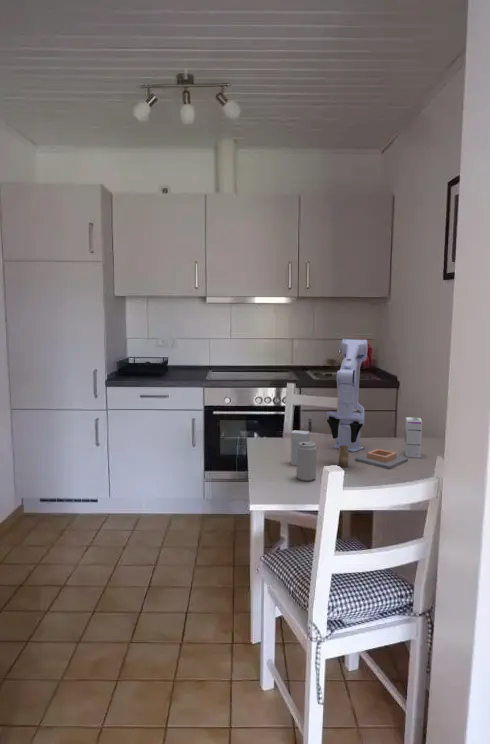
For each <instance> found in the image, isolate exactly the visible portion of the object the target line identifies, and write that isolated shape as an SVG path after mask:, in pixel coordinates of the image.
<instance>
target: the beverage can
mask: <svg viewBox="0 0 490 744" xmlns="http://www.w3.org/2000/svg"><path fill="white" fill-rule="evenodd" d="M316 445H317V443H315V442H313V441H309V442H300V443H299V445H298V447H297V465H296V478H298V480H300V481H302V482H310V481H313V480H314V479H316V477H317V452H318V451H317V450H318V447H317V446H316Z"/></svg>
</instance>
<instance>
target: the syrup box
mask: <svg viewBox="0 0 490 744" xmlns="http://www.w3.org/2000/svg"><path fill="white" fill-rule="evenodd" d="M404 425H405V429H404V452H403V453H404V455H405V458H417V459H418V458H419V459H421V458H422V457H421V456H422V442H423V441H422V439H423V421H422V418H421V417H411V416H409V417H405V424H404Z"/></svg>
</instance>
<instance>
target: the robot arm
mask: <svg viewBox="0 0 490 744" xmlns="http://www.w3.org/2000/svg"><path fill="white" fill-rule="evenodd" d="M368 347H369V345H368V340H367V339H352V338H351V339H349V338H348V339H347V338H343V339H342V340H341V347H340V349H341V350H340V351H341V356H342V359H343V360H342V361H341V364H340V369H339V370H337V372H336V389H337V400H336V401H337V405H336V406H337V407H336V409H337V410H336V411H326V418H327V419H326V421H327V424H328V425H329V428H330V432H331V435H332V439H334V440H335V441H334V446H333V449H334V448H335V449H339V446H341V445H345V446H348V452H352V453H355V452H358V451H360V450H363V449H365V447H364V446H361V428H362V427H364V426H365V417H366V415H365V411H366V410H365V408H364V406H363V405H361V404H360V403H359V393H360V392H359V391H360V390H359V389H360V377H361V375H360V374H361V373H360V372H361V365H362V363H363V362H366V361H367V358H368V350H369V349H368Z"/></svg>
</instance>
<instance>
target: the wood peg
mask: <svg viewBox="0 0 490 744" xmlns="http://www.w3.org/2000/svg"><path fill="white" fill-rule="evenodd" d="M338 450H339V451H338V452H339V453H338V466H339V467H341V468H346V467H348V466H349V451H348V446H345V445H341V446H339V448H338ZM342 466H343V467H342Z"/></svg>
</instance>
